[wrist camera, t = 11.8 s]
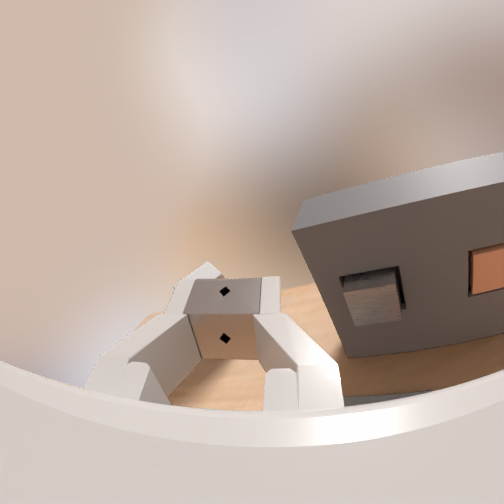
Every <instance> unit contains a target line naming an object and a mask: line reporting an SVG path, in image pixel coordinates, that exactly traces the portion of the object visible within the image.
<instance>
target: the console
mask: <svg viewBox="0 0 504 504" xmlns="http://www.w3.org/2000/svg"><path fill="white" fill-rule="evenodd" d="M292 233H293V236H294V238H295V240H296V242H297V244H298V246H299V248H300V250H301V252H302V254H303V257H304V259H305V261H306V263H307V265H308V268H309V270H310V272H311V274H312V276H313V278H314V281H315V283H316V285H317V287H318V290H319V292H320V294H321V296H322V298H323V301H324V303H325V305H326V308H327V310H328V312H329V314H330V317H331V319H332V321H333V324H334V326H335V328H336V331H337V333H338V335H339V338H340V340H341V342H342V345H343V347H344V350H345V352H346V354H347V357H348V358H355V357H366V356H377V355H386V354H394V353H402V352H410V351H417V350H423V349H430V348H436V347H441V346H447V345H452V344H458V343H463V342H467V341H472V340H477V339H481V338H485V337H490V336H494V335H498V334H502V333H504V287H502V288H499V289H494V290H490V291H486V292H482V293H478V294H473V295H472V291H471V288H470V284H469V281H468V251H470V250H475V249H479V248H483V247H488V246H492V245H496V244H500V243H504V152H499V153H495V154H489V155H485V156H480V157H475V158H470V159H466V160H461V161H457V162H452V163H448V164H443V165H439V166H434V167H430V168H426V169H421V170H417V171H413V172H409V173H405V174H401V175H396V176H392V177H389V178H384V179H381V180H377V181H373V182H369V183H365V184H362V185H357V186H353V187H350V188H346V189H342V190H338V191H335V192H331V193H328V194H324V195H320V196H316V197H313V198H309V199H306V200H304V201H303V202H302V205H301V208H300V210H299V213H298V215H297V218H296V220H295V223H294V225H293V228H292ZM394 266H395V270H396V275H397V280H398V285H399V290H400V295H401V307H402V320H399V321H392V322H385V323H378V324H371V325H363V326H355V325H354V322H353V319H352V316H351V314H350V311H349V308H348V305H347V303H346V300H345V297H344V295H343V288H344V280H345V275H350V274H356V273H361V272H367V271H372V270H378V269H383V268H388V267H394Z"/></svg>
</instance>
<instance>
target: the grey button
mask: <svg viewBox="0 0 504 504" xmlns="http://www.w3.org/2000/svg"><path fill="white" fill-rule="evenodd" d="M343 295H344V297H345V300H346V303H347V305H348V308H349V311H350V314H351V316H352V319H353V322H354V325H355V326H363V325H371V324H378V323H385V322H392V321H399V320H402V307H401V295H400V290H399V285H398V280H397V275H396V270H395V266H394V267H388V268H383V269H378V270H372V271H367V272H361V273H356V274H350V275H345V280H344V288H343Z"/></svg>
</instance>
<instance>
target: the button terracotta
mask: <svg viewBox="0 0 504 504" xmlns="http://www.w3.org/2000/svg"><path fill="white" fill-rule="evenodd" d="M468 281H469V284H470V288H471V291H472V295H473V294H478V293H482V292H486V291H490V290H494V289H499V288H502V287H504V243H500V244H496V245H492V246H488V247H483V248H479V249H475V250H470V251H468Z"/></svg>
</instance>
